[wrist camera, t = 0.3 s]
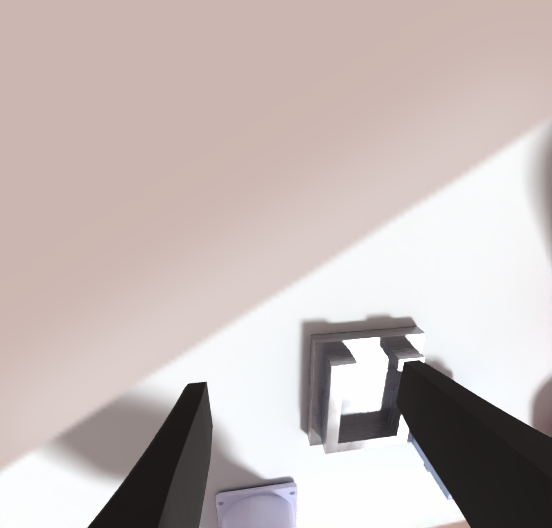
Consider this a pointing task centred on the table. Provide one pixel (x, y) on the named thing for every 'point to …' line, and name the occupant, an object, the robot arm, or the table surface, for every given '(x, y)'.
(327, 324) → the table surface
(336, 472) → the table surface
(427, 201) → the table surface
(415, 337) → the mount plate
